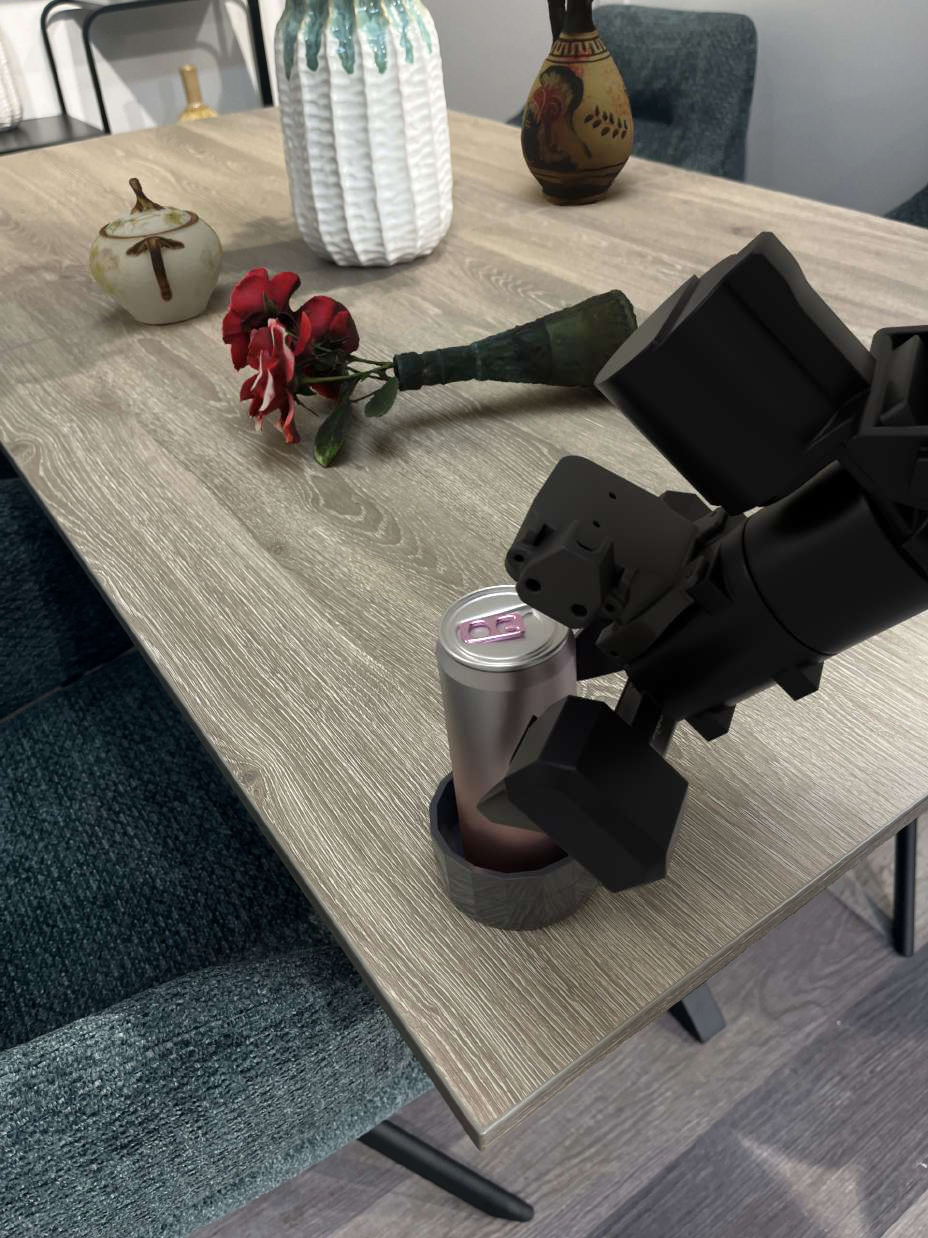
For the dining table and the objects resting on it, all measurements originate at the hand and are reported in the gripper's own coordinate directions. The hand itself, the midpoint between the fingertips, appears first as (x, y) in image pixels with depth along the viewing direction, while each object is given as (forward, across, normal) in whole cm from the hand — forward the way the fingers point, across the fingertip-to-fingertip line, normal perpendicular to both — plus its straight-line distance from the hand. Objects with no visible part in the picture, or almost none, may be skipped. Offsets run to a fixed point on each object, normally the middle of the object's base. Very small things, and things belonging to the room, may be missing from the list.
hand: (521, 738), depth 46 cm
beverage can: (+6, 0, +6) cm, 9 cm away
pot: (+7, 0, +6) cm, 9 cm away
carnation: (+25, -46, -12) cm, 53 cm away
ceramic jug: (+30, -113, -18) cm, 118 cm away
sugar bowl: (+54, -63, -42) cm, 93 cm away
